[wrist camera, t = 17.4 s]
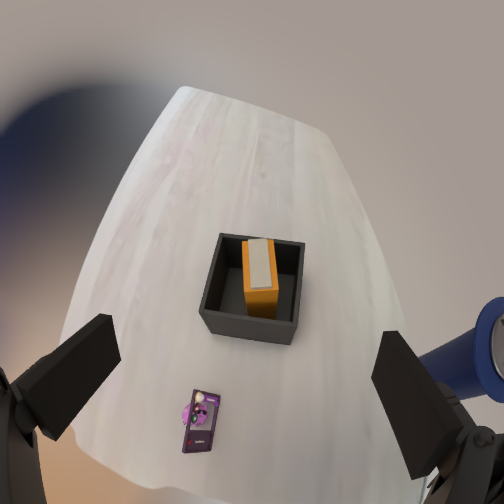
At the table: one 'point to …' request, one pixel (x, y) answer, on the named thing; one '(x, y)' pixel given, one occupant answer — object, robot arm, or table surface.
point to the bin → (233, 299)
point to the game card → (198, 414)
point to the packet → (260, 278)
